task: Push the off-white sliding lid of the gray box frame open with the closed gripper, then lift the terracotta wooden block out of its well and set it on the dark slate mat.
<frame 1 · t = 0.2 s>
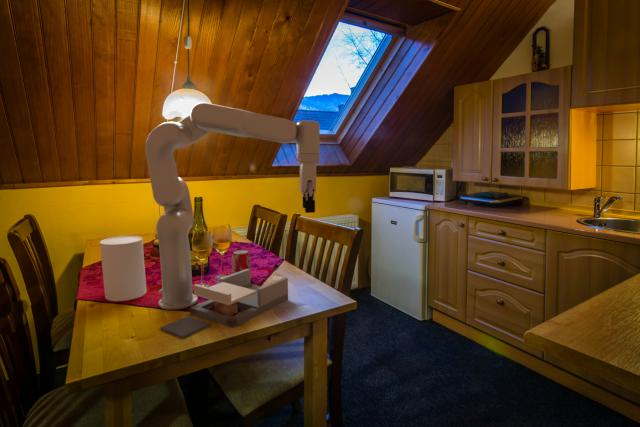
hand: (308, 210, 139), 31 cm above the table, tool pointing down, fingers open, 9 cm apart
soda can: (241, 281, 162), on the table
block: (226, 313, 131), resting in gray box frame
sliding lid: (225, 289, 130), point 8 cm above the table, slide at 0.0 cm
gray box frame: (226, 313, 131), on the table
canister: (126, 294, 149), on the table
mat: (186, 327, 121), on the table
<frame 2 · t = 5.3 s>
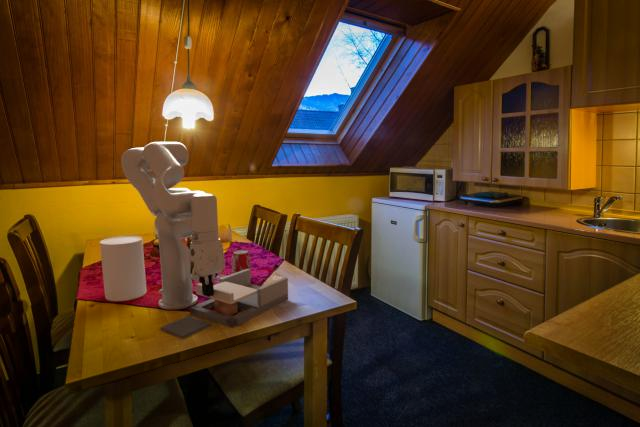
hand: (208, 295, 125), 8 cm above the table, tool pointing down, fingers closed
sliding lid: (227, 288, 131), point 8 cm above the table, slide at 0.9 cm, touching gripper
everything else where it was.
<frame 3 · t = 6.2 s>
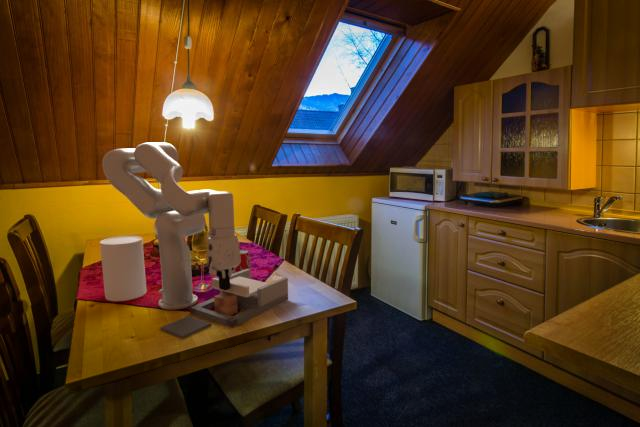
hand: (224, 288, 130), 8 cm above the table, tool pointing down, fingers closed
sliding lid: (242, 282, 136), point 8 cm above the table, slide at 7.5 cm, touching gripper
everything else where it was.
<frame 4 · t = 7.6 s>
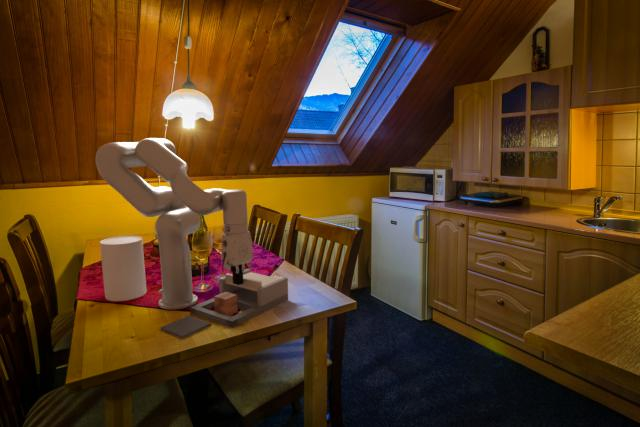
hand: (238, 283, 134), 8 cm above the table, tool pointing down, fingers closed
sliding lid: (254, 277, 141), point 8 cm above the table, slide at 13.2 cm, touching gripper
everything else where it was.
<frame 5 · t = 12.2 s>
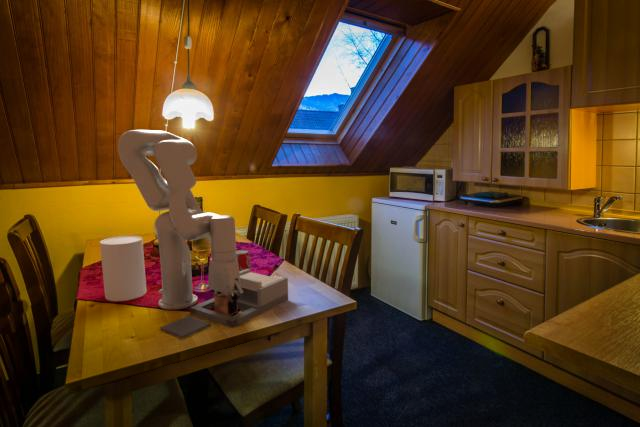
hand: (226, 310, 131), 1 cm above the table, tool pointing down, fingers closed on block, 5 cm apart
block: (226, 313, 131), resting in gray box frame, touching gripper
sliding lid: (254, 277, 141), point 8 cm above the table, slide at 13.2 cm
everything else where it was.
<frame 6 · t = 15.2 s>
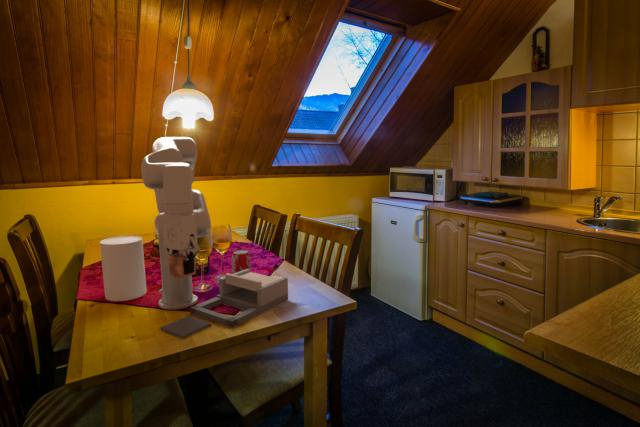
hand: (182, 270, 118), 17 cm above the table, tool pointing down, fingers closed on block, 5 cm apart
block: (182, 274, 118), point 16 cm above the table, touching gripper
everything else where it was.
when the fingers open (3 cm above the table, at t = 18.2 s): block drops 1 cm, resting on mat.
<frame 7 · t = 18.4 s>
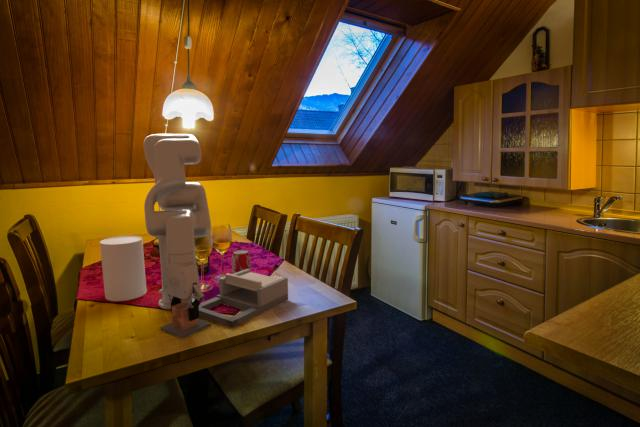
hand: (185, 315, 120), 4 cm above the table, tool pointing down, fingers open, 7 cm apart
block: (185, 324, 121), point 1 cm above the table, touching mat
everything else where it was.
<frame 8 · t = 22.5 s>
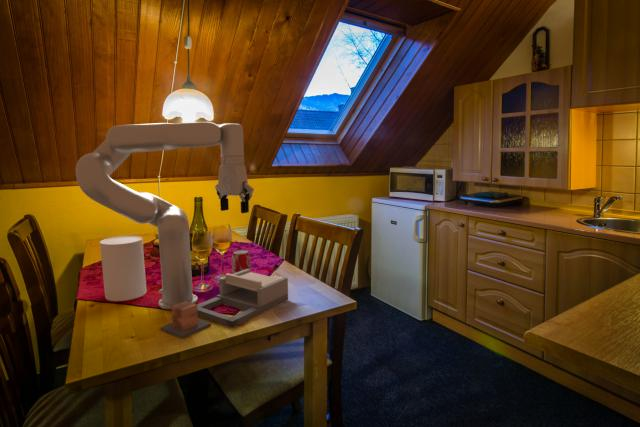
hand: (234, 211, 141), 30 cm above the table, tool pointing down, fingers open, 9 cm apart
nothing on the table moved.
at the end: sliding lid slide at 13.2 cm; block inside the target area on the mat (0.1 cm from its centre), point 0.8 cm above the mat's base; block tilted 0° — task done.
